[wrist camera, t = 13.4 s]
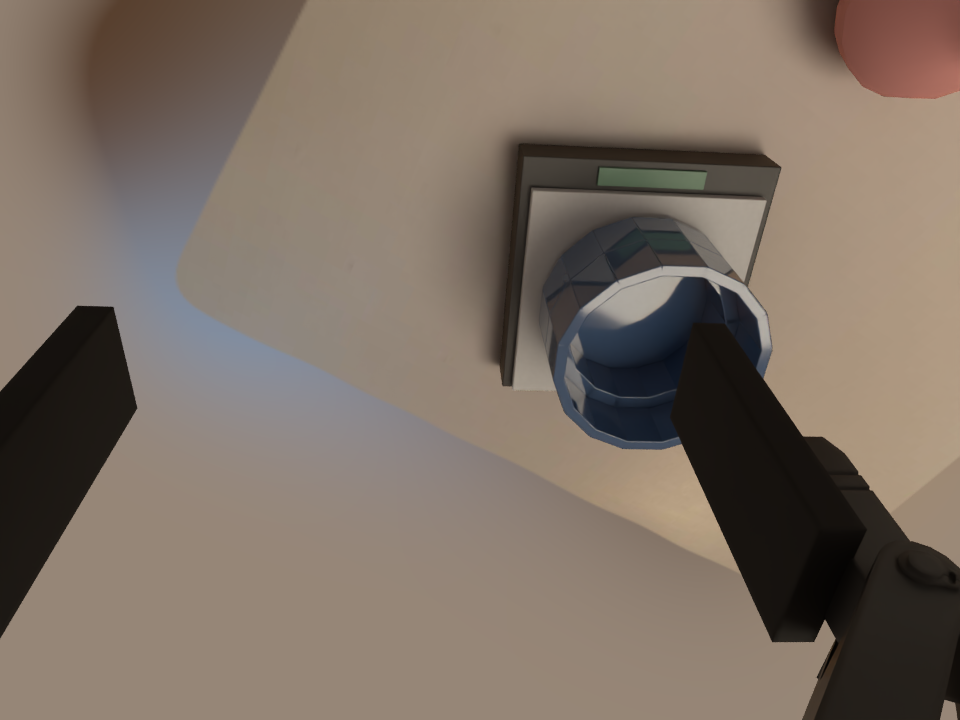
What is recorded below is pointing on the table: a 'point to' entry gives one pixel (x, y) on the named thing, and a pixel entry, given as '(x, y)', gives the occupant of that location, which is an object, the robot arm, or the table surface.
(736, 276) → the blue bowl
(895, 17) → the pink bud vase
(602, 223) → the scale
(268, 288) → the table surface
